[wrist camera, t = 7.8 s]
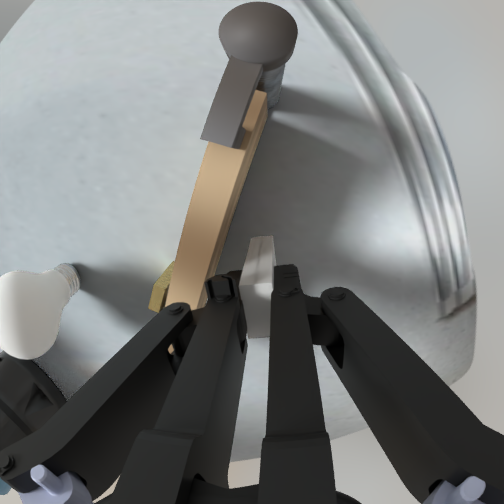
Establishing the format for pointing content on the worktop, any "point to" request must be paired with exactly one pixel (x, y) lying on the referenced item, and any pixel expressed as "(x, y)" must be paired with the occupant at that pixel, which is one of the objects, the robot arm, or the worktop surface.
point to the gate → (229, 141)
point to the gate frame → (271, 86)
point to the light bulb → (34, 309)
